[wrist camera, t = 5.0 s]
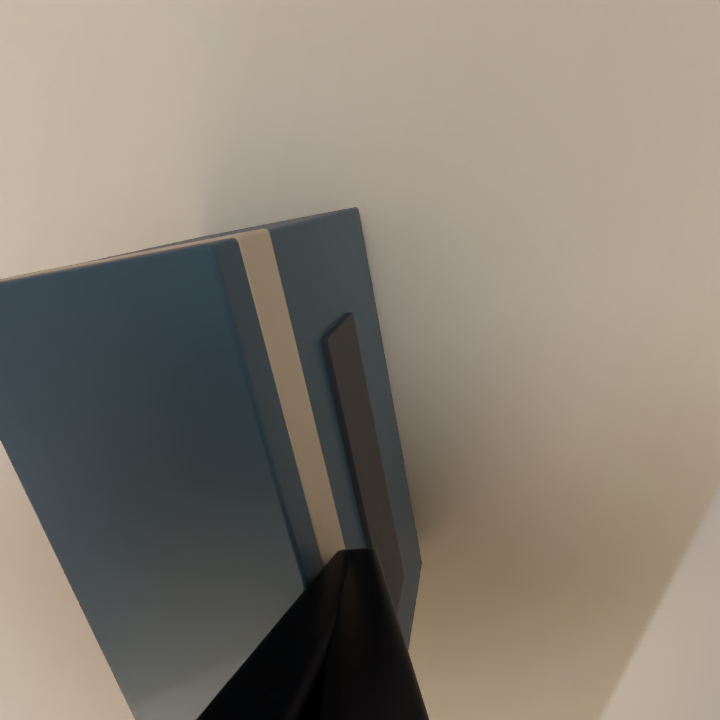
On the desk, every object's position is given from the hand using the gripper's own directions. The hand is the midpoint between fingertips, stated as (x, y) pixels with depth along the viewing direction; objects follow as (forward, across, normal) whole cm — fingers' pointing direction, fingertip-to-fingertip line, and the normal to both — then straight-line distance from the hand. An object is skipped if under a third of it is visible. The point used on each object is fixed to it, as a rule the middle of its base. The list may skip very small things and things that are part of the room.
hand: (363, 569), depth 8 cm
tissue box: (+3, +2, 0) cm, 4 cm away
